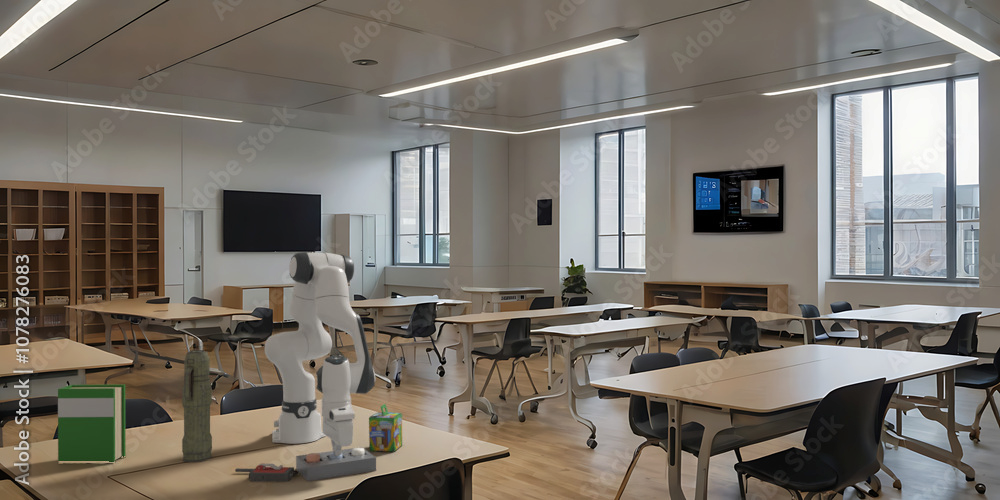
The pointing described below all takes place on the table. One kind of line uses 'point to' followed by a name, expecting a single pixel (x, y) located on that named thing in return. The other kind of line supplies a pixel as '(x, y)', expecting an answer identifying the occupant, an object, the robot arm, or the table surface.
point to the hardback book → (91, 422)
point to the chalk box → (385, 431)
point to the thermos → (196, 407)
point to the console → (335, 465)
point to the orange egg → (312, 457)
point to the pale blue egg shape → (333, 456)
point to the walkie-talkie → (269, 473)
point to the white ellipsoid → (357, 451)
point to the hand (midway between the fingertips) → (336, 454)
